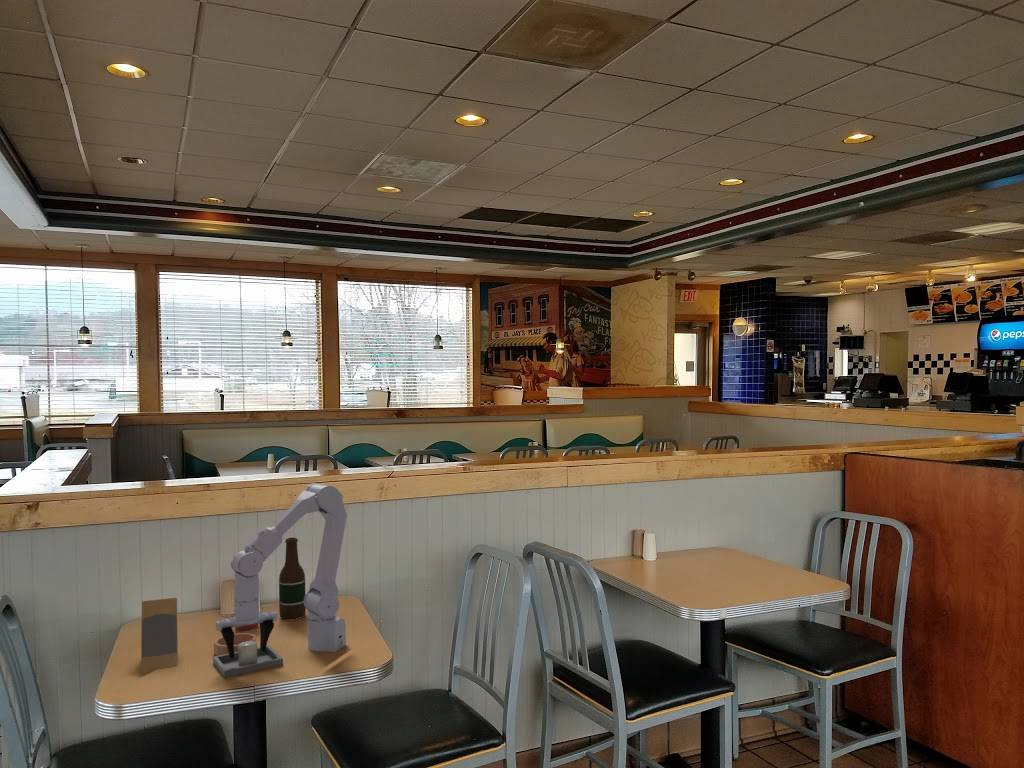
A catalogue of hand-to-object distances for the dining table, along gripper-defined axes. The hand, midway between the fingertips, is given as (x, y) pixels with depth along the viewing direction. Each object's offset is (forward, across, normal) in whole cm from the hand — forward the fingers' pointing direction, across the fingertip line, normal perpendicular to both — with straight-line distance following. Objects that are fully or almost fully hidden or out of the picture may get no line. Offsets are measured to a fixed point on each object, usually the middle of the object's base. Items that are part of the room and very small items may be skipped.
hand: (247, 654), depth 187 cm
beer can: (+4, +8, +34) cm, 35 cm away
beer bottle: (+4, +23, +37) cm, 43 cm away
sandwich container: (+4, -18, +16) cm, 25 cm away
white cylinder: (+2, 0, 0) cm, 3 cm away
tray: (+3, 0, 0) cm, 4 cm away
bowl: (+3, 0, +12) cm, 13 cm away
